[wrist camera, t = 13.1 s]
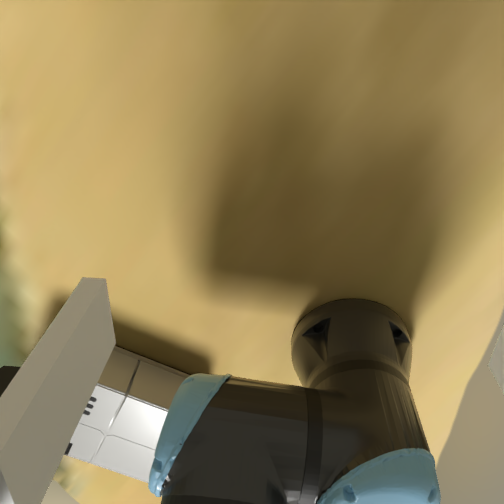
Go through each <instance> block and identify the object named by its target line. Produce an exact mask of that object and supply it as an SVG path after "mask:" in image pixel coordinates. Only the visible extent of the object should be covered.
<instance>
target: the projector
mask: <svg viewBox="0 0 504 504" xmlns="http://www.w3.org/2000/svg"><path fill="white" fill-rule="evenodd" d="M189 376H191V375H188V374H186V373H183V372H181V371H178V370H175V369H173V368H170V367H168V366H165V365H163V364H160V363H158V362H155V361H153V360H150V359H148V358H145V357H142V356H140V355H137V354H135V353H132V352H130V351H127V350H125V349H122V348H120V347H117V346H114V348H113V350H112V352H111V354H110V357H109V359H108V361H107V363H106V365H105V367H104V369H103V372H102V374H101V376H100V378H99V380H98V382H97V384H96V387H95V389H94V391H93V393H92V395H91V397H90V399H89V402H88V404H87V406H86V408H85V410H84V412H83V414H82V417H81V419H80V421H79V423H78V425H77V427H76V429H75V431H74V434H73V436H72V438H71V440H70V442H69V444H68V446H67V449H66V451H65V453H64V455H67V456H70V457H73V458H76V459H79V460H82V461H85V462H88V463H91V464H93V465H96V466H99V467H102V468H105V469H108V470H111V471H114V472H117V473H120V474H123V475H126V476H129V477H132V478H135V479H138V480H141V481H144V482H147V483H148V482H149V474H150V470H151V467H152V464H153V460H154V458H155V456H154V454H155V450H156V446H157V443H158V439H159V436H160V433H161V430H162V427H163V424H164V421H165V418H166V415H167V413H168V410H169V408H170V405H171V403H172V400H173V398H174V396H175V394H176V392H177V390H178V388H179V386H180V385H181V383H182V382H183V381H184V380H185V379H186V378H187V377H189Z"/></svg>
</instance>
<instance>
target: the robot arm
mask: <svg viewBox="0 0 504 504" xmlns="http://www.w3.org/2000/svg"><path fill="white" fill-rule="evenodd" d="M115 344H116V340H115V334H114V327H113V321H112V315H111V309H110V302H109V296H108V290H107V283H106V279H103V278H85V277H83V278H82V279H81V281H80V282H79V284H78V285H77V286H76V288H75V289H74V291H73V292H72V294H71V295H70V297H69V298H68V300H67V301H66V302H65V304H64V305H63V307H62V308H61V310H60V311H59V313H58V314H57V316H56V317H55V318H54V320H53V321H52V323H51V324H50V326H49V327H48V329H47V330H46V332H45V333H44V334H43V336H42V337H41V339H40V340H39V342H38V343H37V345H36V346H35V348H34V349H33V350H32V352H31V353H30V355H29V356H28V358H27V359H26V361H25V362H24V363H23V365H22V366H21V367H14V366H3V367H1V368H0V504H41V502H42V500H43V498H44V496H45V494H46V491H47V489H48V487H49V485H50V483H51V481H52V479H53V476H54V474H55V472H56V470H57V468H58V466H59V464H60V461H61V459H62V457H63V455H64V453H65V451H66V449H67V446H68V444H69V442H70V440H71V438H72V436H73V434H74V431H75V429H76V427H77V425H78V423H79V421H80V419H81V417H82V414H83V412H84V410H85V408H86V406H87V404H88V402H89V399H90V397H91V395H92V393H93V391H94V389H95V387H96V384H97V382H98V380H99V378H100V376H101V374H102V372H103V369H104V367H105V365H106V363H107V361H108V359H109V357H110V354H111V352H112V350H113V348H114V346H115ZM291 354H292V362H293V366H294V369H295V371H296V373H297V375H298V377H299V379H300V382H301V384H302V386H303V387H301V386H294V385H287V384H280V383H273V382H266V381H259V380H252V379H246V378H240V377H234V376H232V375H230V374H226V375H213V374H202V373H197V374H193V375H191V376H189V377H187V378H186V379H185V380H184V381H183V382H182V383H181V385H180V386H179V388H178V390H177V392H176V394H175V396H174V398H173V400H172V403H171V405H170V408H169V410H168V413H167V415H166V418H165V421H164V424H163V427H162V430H161V433H160V436H159V439H158V443H157V446H156V450H155V454H154V456H155V458H154V460H153V464H152V467H151V470H150V474H149V482H148V487H149V490H150V492H152V493H153V494H155V496H156V497H161V495H162V501H161V504H440V500H441V499H440V498H441V495H440V489H439V484H438V480H437V475H436V470H435V461H434V457H433V456H432V454H431V453H430V450H429V446H428V443H427V440H426V437H425V434H424V431H423V428H422V424H421V421H420V418H419V415H418V412H417V409H416V406H415V402H414V399H413V396H412V393H411V390H410V387H409V377H410V369H411V360H412V344H411V340H410V337H409V334H408V331H407V328H406V326H405V324H404V322H403V321H402V320H401V318H400V317H399V316H398V315H397V314H396V313H395V312H393V311H392V310H391V309H389V308H388V307H386V306H384V305H381V304H379V303H376V302H373V301H369V300H363V299H344V300H338V301H333V302H330V303H327V304H324V305H322V306H320V307H318V308H316V309H314V310H313V311H311V312H310V313H308V314H307V315H306V316H305V317H304V318H303V319H302V320H301V321H300V322H299V324H298V325H297V327H296V328H295V331H294V333H293V336H292V341H291ZM488 367H489V369H490V370H491V372H492V374H493V376H494V378H495V379H496V381H497V383H498V385H499V387H500V389H501V391H502V392H503V394H504V324H503V327H502V329H501V332H500V335H499V337H498V340H497V342H496V345H495V347H494V350H493V353H492V355H491V358H490V360H489V363H488Z"/></svg>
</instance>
